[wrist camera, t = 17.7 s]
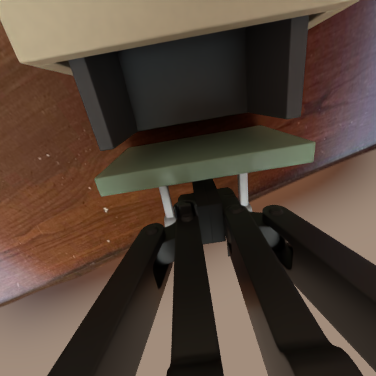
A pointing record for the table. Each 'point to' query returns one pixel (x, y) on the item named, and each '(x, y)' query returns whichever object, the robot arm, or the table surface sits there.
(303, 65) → the drawer
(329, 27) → the table surface
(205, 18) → the cabinet
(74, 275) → the table surface
